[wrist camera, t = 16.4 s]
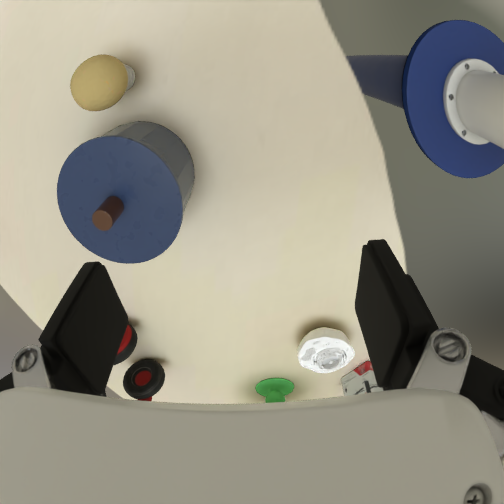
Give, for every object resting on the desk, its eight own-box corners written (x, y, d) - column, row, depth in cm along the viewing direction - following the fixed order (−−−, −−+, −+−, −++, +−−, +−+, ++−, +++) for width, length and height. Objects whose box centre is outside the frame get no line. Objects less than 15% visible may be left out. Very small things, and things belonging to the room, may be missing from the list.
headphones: (173, 366, 64) (157, 447, 48) (136, 368, 66) (116, 443, 49) (135, 311, 55) (103, 404, 38) (95, 317, 56) (60, 400, 39)
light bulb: (114, 110, 34) (76, 127, 26) (94, 71, 31) (51, 79, 23) (155, 85, 33) (124, 94, 25) (133, 45, 30) (97, 43, 21)
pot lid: (169, 120, 27) (155, 130, 24) (196, 253, 36) (190, 277, 32) (46, 151, 28) (24, 165, 25) (86, 262, 37) (72, 284, 33)
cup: (233, 387, 68) (230, 448, 55) (276, 364, 63) (279, 431, 50) (273, 405, 74) (274, 460, 61) (315, 386, 68) (322, 445, 55)
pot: (184, 111, 35) (163, 127, 27) (202, 214, 43) (191, 253, 35) (85, 134, 36) (47, 156, 28) (111, 225, 44) (85, 261, 36)
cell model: (334, 307, 53) (342, 336, 48) (356, 342, 59) (363, 368, 53) (284, 329, 56) (286, 358, 51) (311, 360, 62) (315, 386, 56)
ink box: (367, 359, 63) (378, 404, 53) (379, 365, 64) (391, 408, 54) (339, 378, 67) (347, 422, 57) (353, 383, 68) (361, 425, 58)
